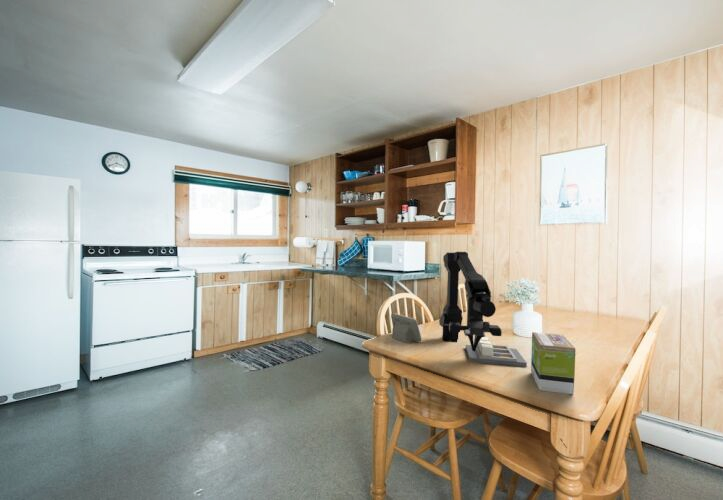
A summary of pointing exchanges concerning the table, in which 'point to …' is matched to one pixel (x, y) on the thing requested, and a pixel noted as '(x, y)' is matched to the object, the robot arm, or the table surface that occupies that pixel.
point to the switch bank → (497, 356)
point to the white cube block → (483, 343)
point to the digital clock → (405, 328)
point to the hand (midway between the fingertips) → (473, 351)
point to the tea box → (553, 363)
